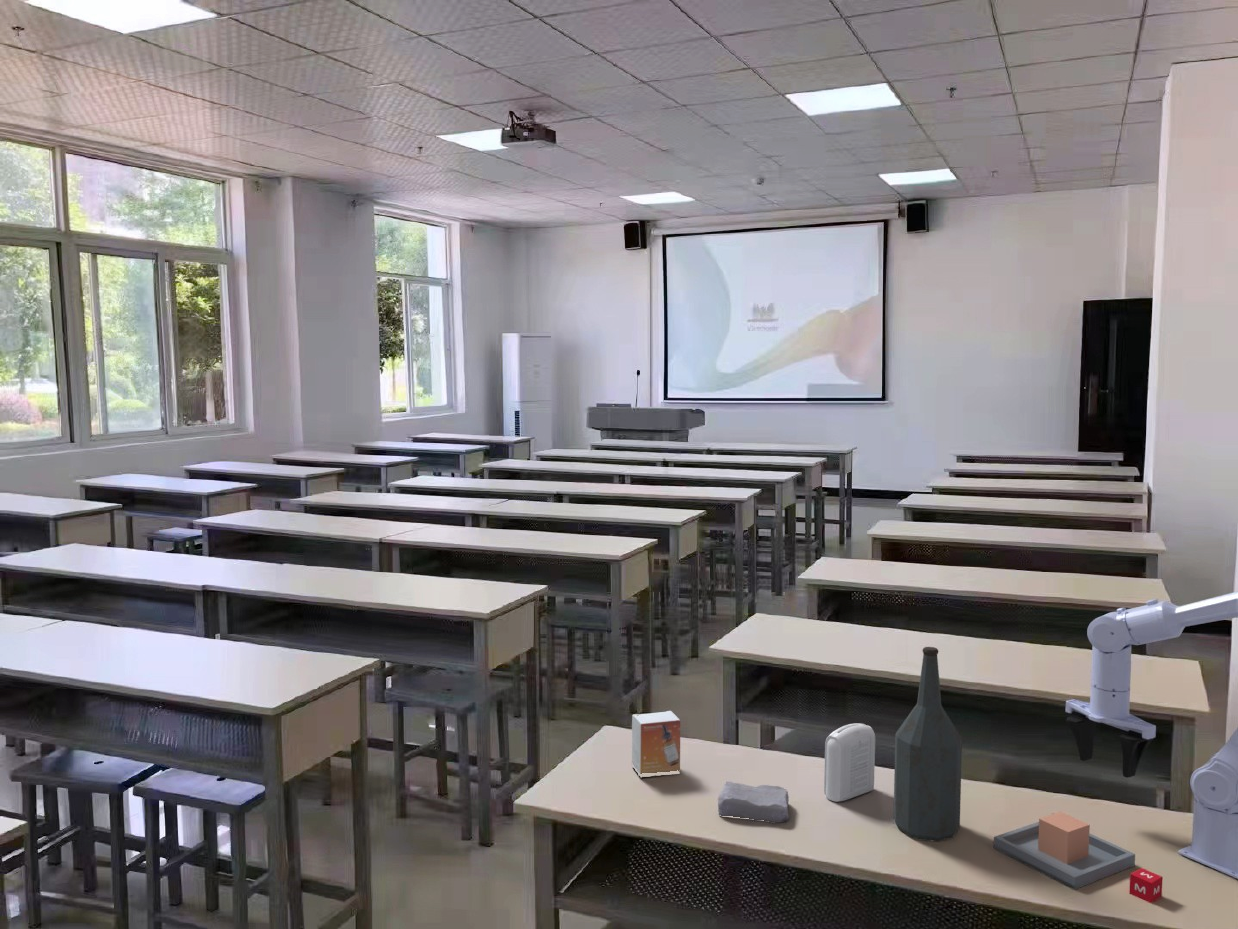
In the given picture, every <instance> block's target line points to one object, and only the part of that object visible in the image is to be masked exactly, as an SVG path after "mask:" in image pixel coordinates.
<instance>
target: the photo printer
mask: <svg viewBox="0 0 1238 929" xmlns="http://www.w3.org/2000/svg"><path fill="white" fill-rule="evenodd" d="M875 754H876V735H875V731H874V729H873V728H872V727H871V726H870V725H868V724H867V725H866V724H865V723H860V722H859V723H855V722H854V723H849V724H845V725H843V726H841V727H839V728H837V729H836V730H833V731H832V732H831V733H830V734H829V735H828V736H827V737H826V739H825V741H824V779H823V782H824V783H823V786H824V787H823V791H824V795H825V797H826V798H827V800H829V801H832V802H837V803H838V802H843V801H847V800H850V799H852V798H855V797H859V796H861V795H864V794H866V793H869V792H871V791H873V790H874V789H875V767H876V766H875V764H876V763H875V758H876V755H875Z"/></svg>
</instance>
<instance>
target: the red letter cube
mask: <svg viewBox="0 0 1238 929" xmlns="http://www.w3.org/2000/svg"><path fill="white" fill-rule="evenodd" d="M1163 879H1164V878H1163V876H1162V875H1159V874H1156V873H1154V872H1152V871H1149V870H1147V869H1145V868H1142V867H1140V868H1139V869H1136V870H1135V871H1133V872H1131V873H1129V891H1128V892H1129V895H1131V896H1134V897H1136V898H1138V899H1141V900H1142V901H1144V902H1147V903H1149V904H1153V903H1154V902H1155V901H1157V900H1158V899H1161V898H1162V896H1163V895H1162V894H1163Z"/></svg>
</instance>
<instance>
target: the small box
mask: <svg viewBox="0 0 1238 929" xmlns="http://www.w3.org/2000/svg"><path fill="white" fill-rule="evenodd" d="M631 717H632V718H631V720H632V721H631V764H632V763H633V765H634V767H635V768H636V769H637V771H638V772H639V773H640V774H642V773H657V772H670V771H677V770H678V771H679V770H680V771H681V720H680V718H679V717H678V716H677V715H676V714H675V713H674V712H673V711H672V710H667V711H662V712H661V711H660V712H651V713H641V714H640V713H638V714H637V713H635V714H632V715H631Z"/></svg>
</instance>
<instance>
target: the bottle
mask: <svg viewBox="0 0 1238 929" xmlns="http://www.w3.org/2000/svg"><path fill="white" fill-rule="evenodd" d="M922 653H923V656H922V663H921V670H920V679H919V686H918V694H917V701H916V704H915V706H914V707H913V708H912V710H911V711H910V713H909V714H908V716H906V718H905V719H904V720H903V722H902V724H901V725H900V726H899V728H898V729H897V731H896V733H895V736H894V779H893V780H894V783H893V785H894V786H893V820H894V824H895V825H896V827H897V829H898V830H900V831H901V832H903V833H904V834H905V835H907V836H909V837H911V838H914V839H917V840H923V841H930V840H933V842H942V841H945V840H949V839H952V838H953V837H954V836H955V835H956V833H958V832H957V831H958V829H959V828H960V826H961V799H962V798H961V797H962V796H961V795H962V794H961V793H962V792H961V791H962V763H963V762H962V760H963V759H962V758H963V757H962V756H963V755H962V754H963V752H962V751H963V738H962V737H961V735H960V734H959V732H958V730H957V728H956V727H955V725H954V724H953V722H952V720H951V719H950V717H949V715H948V714H947V712H946V710H945V709H944V707H943V705H942V697H941V684H940V672H939V660H938V654H939V649H938V647H934V646H924V647H923V648H922Z"/></svg>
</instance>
